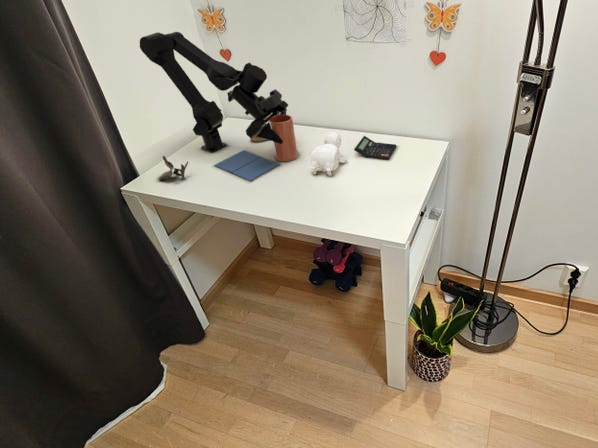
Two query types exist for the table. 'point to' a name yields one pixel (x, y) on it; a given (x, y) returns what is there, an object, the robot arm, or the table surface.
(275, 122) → the pencil cup
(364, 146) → the calculator
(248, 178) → the napkin
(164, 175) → the eagle figurine
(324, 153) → the white lumpy rounded figurine
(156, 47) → the robot arm
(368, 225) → the table surface
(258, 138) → the pastry
